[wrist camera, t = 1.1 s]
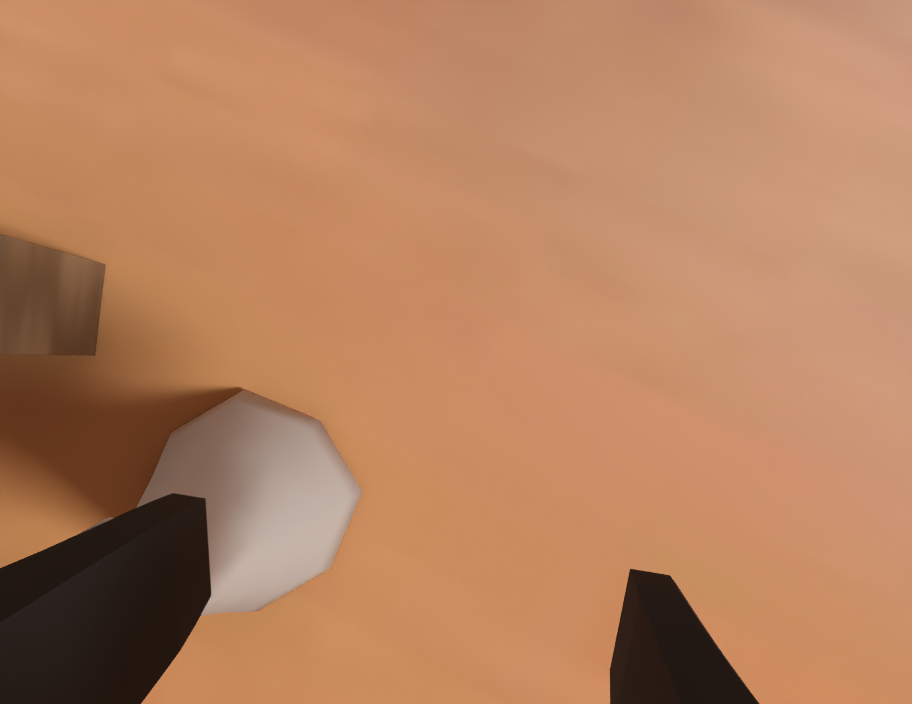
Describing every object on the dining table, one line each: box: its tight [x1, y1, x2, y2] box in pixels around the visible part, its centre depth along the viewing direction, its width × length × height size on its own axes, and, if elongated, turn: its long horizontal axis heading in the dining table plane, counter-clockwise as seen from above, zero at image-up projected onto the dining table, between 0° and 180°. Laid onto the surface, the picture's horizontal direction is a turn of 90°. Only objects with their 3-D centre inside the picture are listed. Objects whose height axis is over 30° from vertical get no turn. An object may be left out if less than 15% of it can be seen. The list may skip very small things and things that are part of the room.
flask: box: [84, 390, 362, 616], centre depth 18 cm, size 7×7×10 cm
